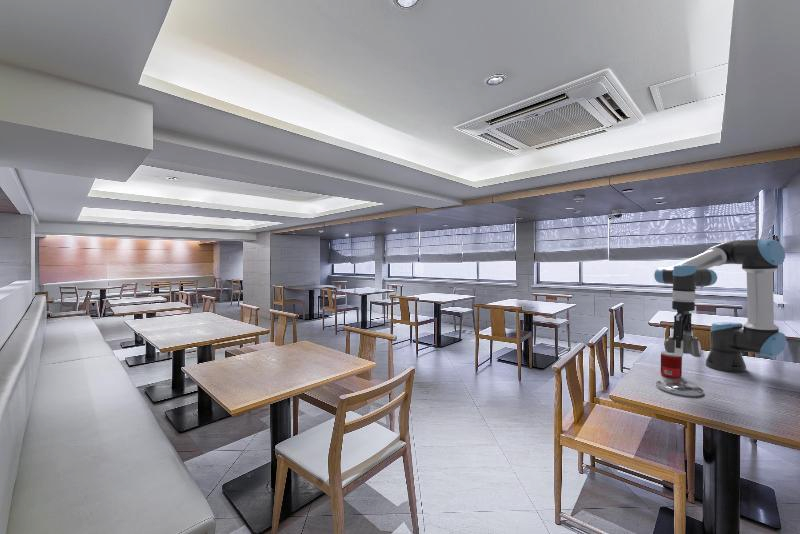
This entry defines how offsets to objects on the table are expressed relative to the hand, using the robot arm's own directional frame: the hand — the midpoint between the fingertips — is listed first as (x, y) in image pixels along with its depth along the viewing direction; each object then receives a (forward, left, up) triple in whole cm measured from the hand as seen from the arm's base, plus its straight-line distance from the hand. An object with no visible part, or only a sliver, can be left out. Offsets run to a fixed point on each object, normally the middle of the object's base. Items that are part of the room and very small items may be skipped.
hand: (682, 353), depth 150 cm
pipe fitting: (0, 0, 0) cm, 1 cm away
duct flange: (0, -1, -16) cm, 16 cm away
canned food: (-17, -9, -16) cm, 25 cm away
